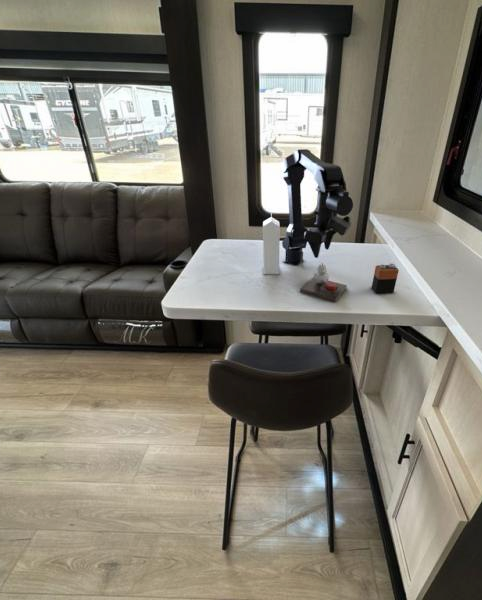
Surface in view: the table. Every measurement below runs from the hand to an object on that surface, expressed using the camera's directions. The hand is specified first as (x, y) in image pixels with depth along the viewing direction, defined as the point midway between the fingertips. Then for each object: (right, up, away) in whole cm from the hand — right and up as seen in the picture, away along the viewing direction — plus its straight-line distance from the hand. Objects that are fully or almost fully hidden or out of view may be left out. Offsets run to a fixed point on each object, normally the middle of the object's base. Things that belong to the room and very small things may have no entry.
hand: (321, 253), depth 106 cm
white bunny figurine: (0, -10, +4) cm, 11 cm away
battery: (+22, -13, +2) cm, 26 cm away
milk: (-18, -5, +14) cm, 24 cm away
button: (+3, -12, -4) cm, 13 cm away
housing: (+1, -13, +1) cm, 13 cm away
